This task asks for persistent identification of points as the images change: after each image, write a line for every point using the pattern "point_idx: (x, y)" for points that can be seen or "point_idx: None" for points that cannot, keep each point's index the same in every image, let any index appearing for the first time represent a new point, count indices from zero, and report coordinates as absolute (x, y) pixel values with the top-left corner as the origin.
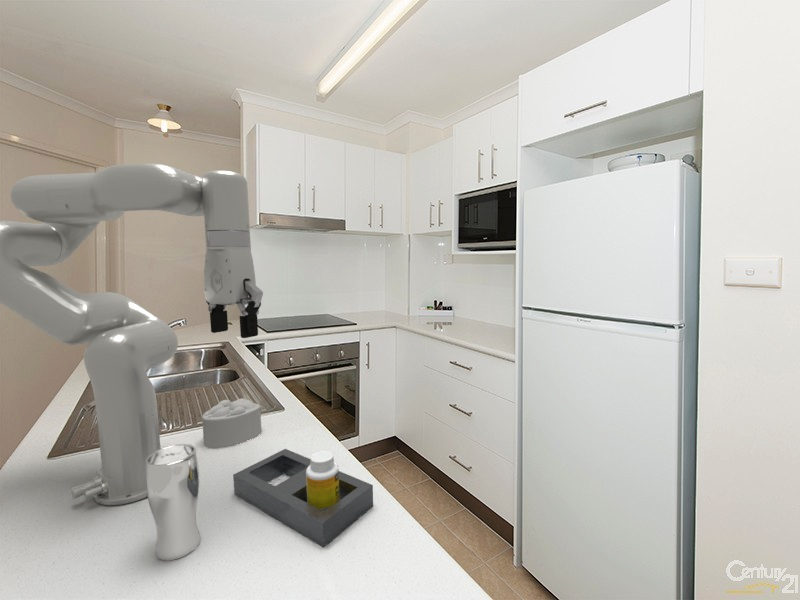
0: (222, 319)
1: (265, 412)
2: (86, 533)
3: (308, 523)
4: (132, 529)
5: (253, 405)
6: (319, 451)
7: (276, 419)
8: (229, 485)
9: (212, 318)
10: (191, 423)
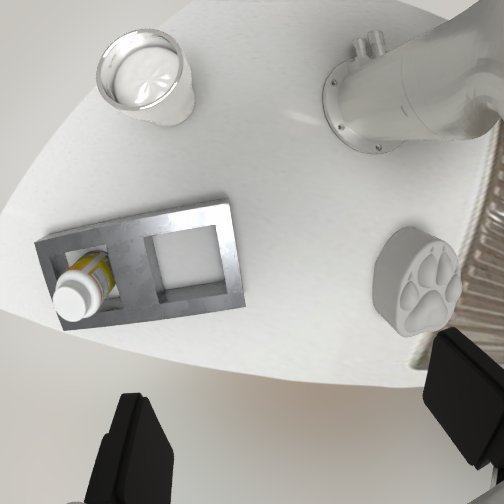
0: (458, 419)
1: (429, 342)
2: (292, 31)
3: (60, 234)
4: (255, 68)
5: (408, 327)
6: (84, 311)
7: (396, 347)
8: (260, 203)
9: (487, 379)
10: (483, 243)
